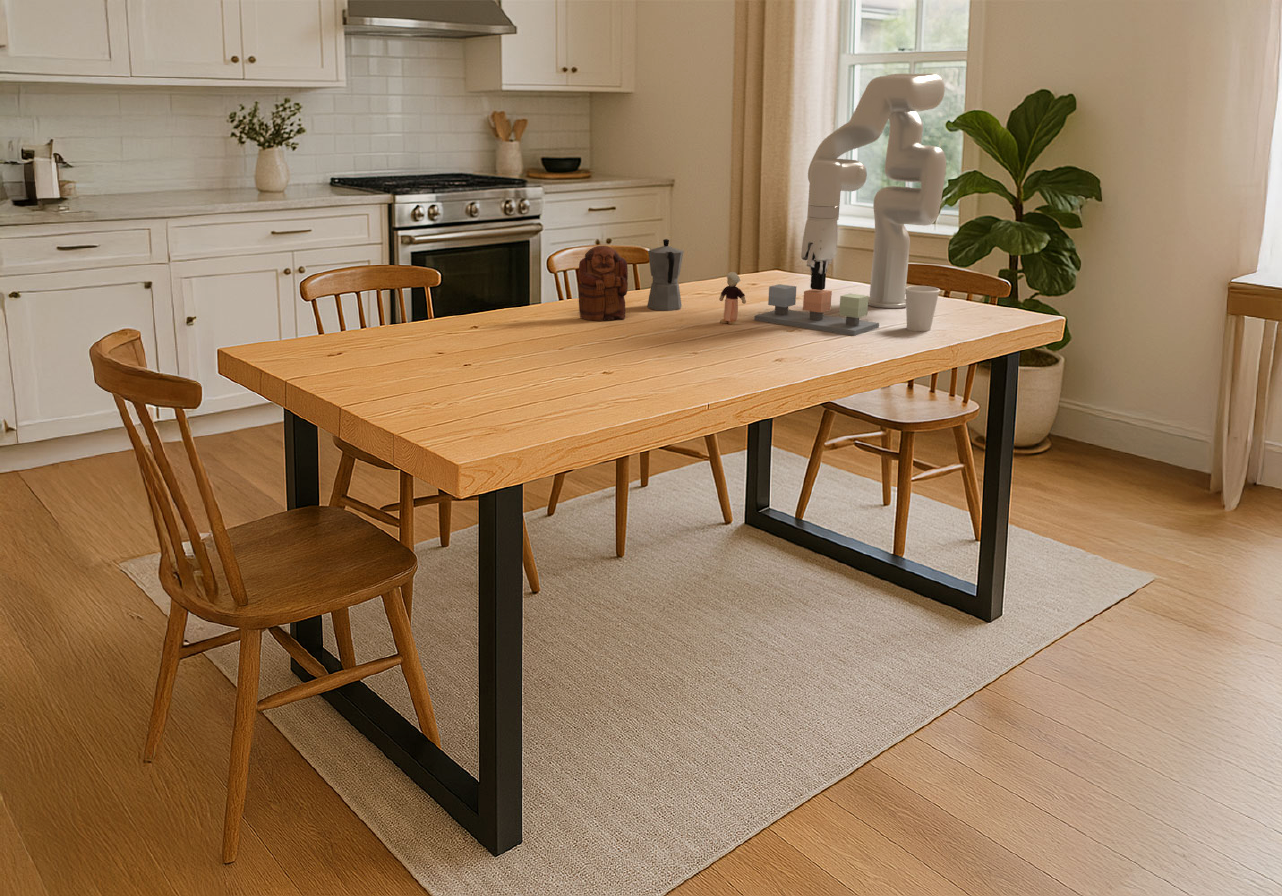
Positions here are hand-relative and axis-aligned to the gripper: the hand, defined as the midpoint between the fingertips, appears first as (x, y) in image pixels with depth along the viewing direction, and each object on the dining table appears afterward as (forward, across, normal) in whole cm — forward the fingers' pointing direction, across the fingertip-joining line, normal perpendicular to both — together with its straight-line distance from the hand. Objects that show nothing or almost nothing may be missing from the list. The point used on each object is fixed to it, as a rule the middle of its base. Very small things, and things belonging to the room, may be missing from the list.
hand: (817, 289), depth 268 cm
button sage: (+5, 0, +10) cm, 11 cm away
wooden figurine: (+9, +31, -43) cm, 54 cm away
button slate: (+5, 0, -10) cm, 11 cm away
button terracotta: (+5, 0, 0) cm, 5 cm away
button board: (+9, 0, 0) cm, 9 cm away
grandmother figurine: (+9, +14, -16) cm, 23 cm away
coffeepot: (+9, +9, -40) cm, 42 cm away
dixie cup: (+9, -12, +22) cm, 27 cm away
